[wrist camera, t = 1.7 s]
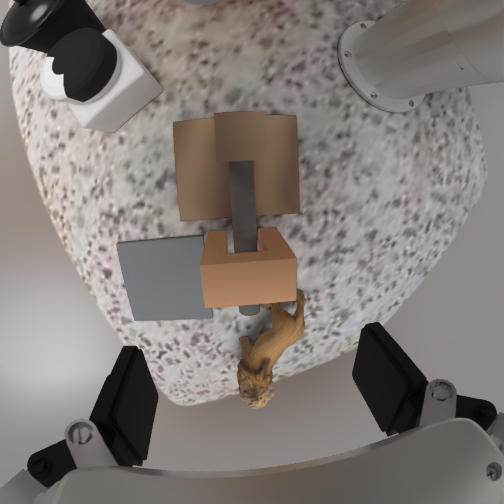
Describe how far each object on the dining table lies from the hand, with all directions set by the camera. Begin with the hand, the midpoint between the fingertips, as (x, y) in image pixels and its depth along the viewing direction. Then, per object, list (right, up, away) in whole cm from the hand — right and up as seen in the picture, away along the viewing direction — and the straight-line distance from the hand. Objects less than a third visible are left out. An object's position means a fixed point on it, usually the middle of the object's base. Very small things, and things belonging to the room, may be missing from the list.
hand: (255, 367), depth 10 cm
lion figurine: (+2, -5, +23) cm, 23 cm away
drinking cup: (-18, +28, +10) cm, 35 cm away
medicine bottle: (-14, +22, +12) cm, 29 cm away
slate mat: (-10, +1, +19) cm, 22 cm away
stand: (-2, +11, +17) cm, 20 cm away
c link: (-1, +5, +14) cm, 15 cm away
